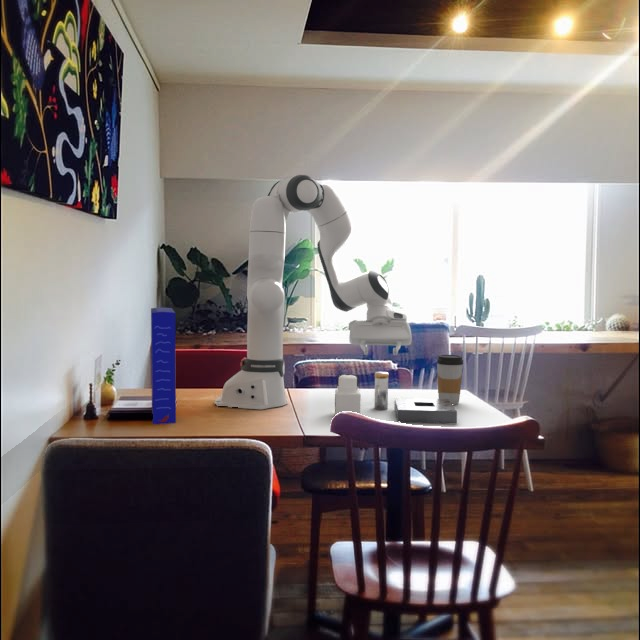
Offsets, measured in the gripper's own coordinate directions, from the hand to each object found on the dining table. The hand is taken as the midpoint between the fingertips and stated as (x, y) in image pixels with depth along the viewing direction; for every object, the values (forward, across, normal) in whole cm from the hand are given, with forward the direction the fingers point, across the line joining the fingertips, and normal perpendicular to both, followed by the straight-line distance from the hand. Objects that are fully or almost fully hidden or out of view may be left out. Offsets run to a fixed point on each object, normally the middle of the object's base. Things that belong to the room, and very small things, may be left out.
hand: (380, 353), depth 194 cm
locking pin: (+18, 0, +3) cm, 19 cm away
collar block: (+25, +12, -3) cm, 28 cm away
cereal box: (+29, -63, -7) cm, 69 cm away
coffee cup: (+11, +22, +11) cm, 27 cm away
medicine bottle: (+26, -10, -4) cm, 28 cm away
